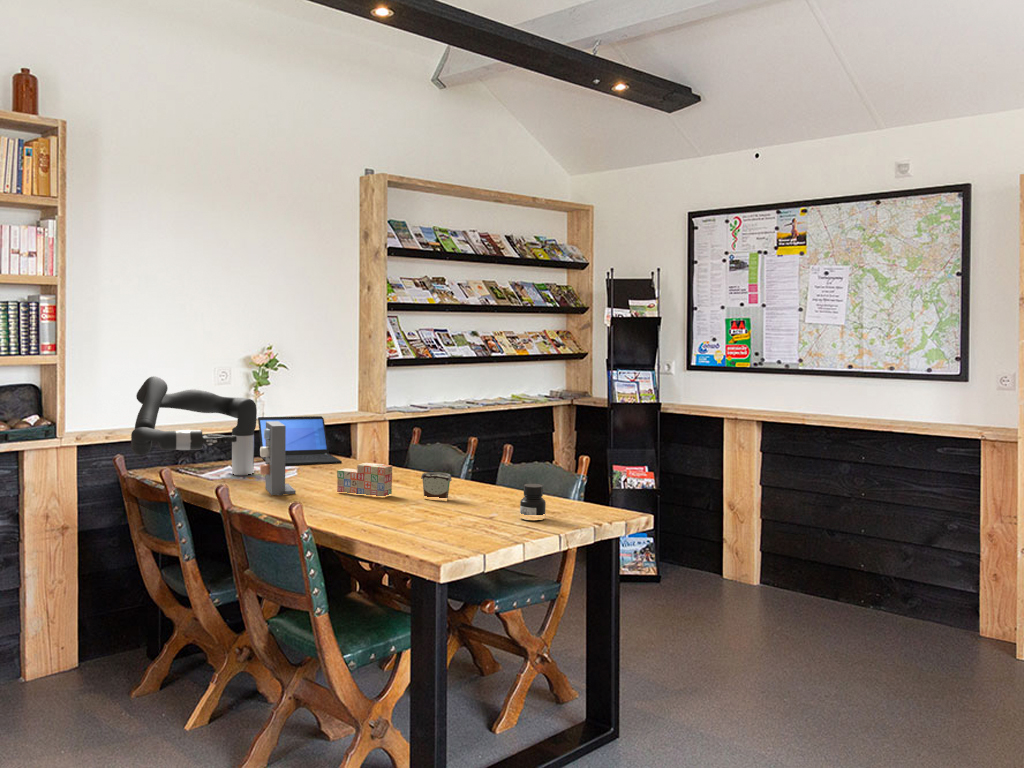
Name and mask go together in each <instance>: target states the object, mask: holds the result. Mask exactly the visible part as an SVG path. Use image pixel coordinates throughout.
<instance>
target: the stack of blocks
mask: <svg viewBox="0 0 1024 768" xmlns="http://www.w3.org/2000/svg"><path fill="white" fill-rule="evenodd" d="M356 468H357V469H356ZM356 468H355V469H354V468H348V467H345V468H342V469H338V470H337V472H336V476H337V477H336V478H337V481H336V484H337V488H336V490H337V491H336V493H337V492H347V493H356V494H366V495H376V496H386V495H389V494H393V491H392V490H393V488H392V487H393V465H391V464H390V465H388V464H383V463H370V462H363V463H360V464H359V463H358V464H357V467H356Z"/></svg>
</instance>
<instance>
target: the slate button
mask: <svg viewBox="0 0 1024 768" xmlns="http://www.w3.org/2000/svg"><path fill="white" fill-rule="evenodd" d="M264 439H270V429H264Z"/></svg>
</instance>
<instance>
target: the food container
mask: <svg viewBox="0 0 1024 768" xmlns="http://www.w3.org/2000/svg"><path fill="white" fill-rule="evenodd" d="M420 479H421V480H422V488H423V489H422V490H423V497H424V496H427V497H439V498H448V499H449V494H450V493H449V490H450V484H451V483H450V482H452V481H453V480H452V475H451V474H450V473H447V472H440V471H439V472H437V471H434V472H424V473H422V474H421V477H420Z"/></svg>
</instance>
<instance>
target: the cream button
mask: <svg viewBox="0 0 1024 768" xmlns="http://www.w3.org/2000/svg"><path fill="white" fill-rule="evenodd" d="M259 455H260V457H261V458H263V457H270V447H261V446H260V448H259Z"/></svg>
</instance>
